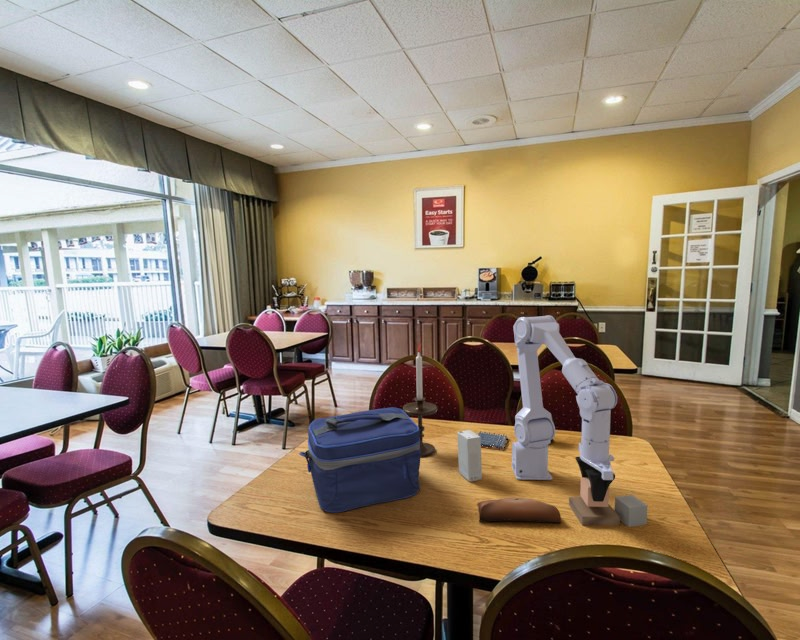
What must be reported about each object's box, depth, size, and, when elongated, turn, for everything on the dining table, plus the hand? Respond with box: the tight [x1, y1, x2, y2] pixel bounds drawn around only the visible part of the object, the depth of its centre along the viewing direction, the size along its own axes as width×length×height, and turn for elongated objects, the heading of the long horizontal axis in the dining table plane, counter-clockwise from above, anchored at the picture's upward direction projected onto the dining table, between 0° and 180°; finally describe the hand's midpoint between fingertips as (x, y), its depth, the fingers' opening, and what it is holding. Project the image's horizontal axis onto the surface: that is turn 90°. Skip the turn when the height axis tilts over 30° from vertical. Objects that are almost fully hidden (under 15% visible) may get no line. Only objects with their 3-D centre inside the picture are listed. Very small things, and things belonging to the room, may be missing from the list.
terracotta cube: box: [579, 476, 610, 507], centre depth 93 cm, size 4×4×4 cm
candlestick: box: [402, 343, 438, 458], centre depth 128 cm, size 11×11×35 cm
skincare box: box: [457, 429, 483, 483], centre depth 112 cm, size 6×4×12 cm
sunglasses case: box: [476, 497, 562, 524], centre depth 94 cm, size 18×7×7 cm, turn 86°
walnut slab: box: [568, 496, 621, 527], centre depth 93 cm, size 8×8×2 cm
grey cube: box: [613, 494, 649, 528], centre depth 91 cm, size 4×4×4 cm
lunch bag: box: [298, 406, 422, 513], centre depth 107 cm, size 31×21×20 cm
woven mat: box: [477, 430, 509, 451], centre depth 135 cm, size 10×11×2 cm
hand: (593, 494), depth 93 cm, fingers closed on terracotta cube, 4 cm apart
